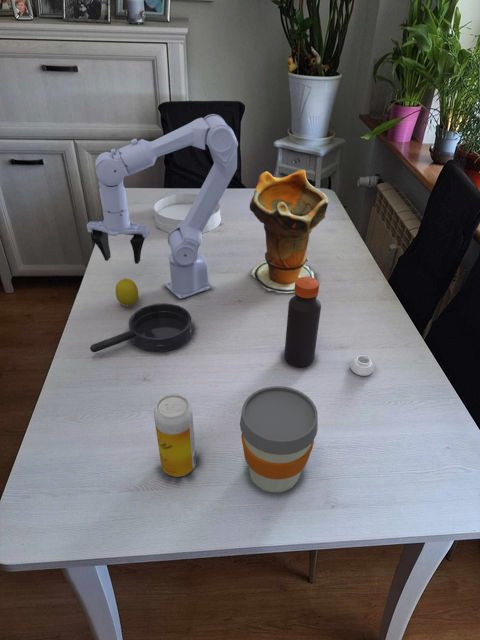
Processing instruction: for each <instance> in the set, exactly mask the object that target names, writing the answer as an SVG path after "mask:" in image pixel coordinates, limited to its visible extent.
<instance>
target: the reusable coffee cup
mask: <svg viewBox="0 0 480 640" xmlns="http://www.w3.org/2000/svg"><path fill="white" fill-rule="evenodd" d="M318 419H319V417H318V410H317V406H316V405H315V403H314V401H313V400H312V399H311V398H310V397H309V396H307V394H305V393H304V392H302V391H301V390H298V389H295V388H292V387H288V386H283V385H282V386H279V385H273V386H266V387H263V388H260V389H258V390H256V391H254V392H253V393H251V394H250V395H249V396H248V397H247V398H246V399H245V400H244V403H243V405H242V409H241V413H240V421H239V427H240V428H239V429H240V431H241V432H240V433H241V435H240V436H241V444H242V450H243V456H244V459H245V462H246V464H247V465H248V471H249V476H250V479H251V481H252V483H254V485H256V487H258V488H259V489H261V490H263V491H265V492H269V493H276V494H277V493H284V492H286V491H289V490H290V489H292V488H293V487H294V486H295V485H296V484H297V483H298V482H299V479H300V476H301V473H302V471H303V470H304V469H305V468H306V466H307V464H308V462H309V459H310V456H311V453H312V450H313V448H314V443H315V439H316V437H317V434H318V429H319V428H318V427H319V424H318V423H319V422H318Z"/></svg>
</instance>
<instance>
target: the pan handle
mask: <svg viewBox="0 0 480 640" xmlns="http://www.w3.org/2000/svg"><path fill="white" fill-rule="evenodd" d="M133 337H134V334H133V332H132V331H130V330H128V331H125V332H123V333H120V334H116V335H115V336H112V337H109V338H107V339H104V340H101V341H99V342H96V343H93V344H91V345H90V347H89V350H90V352H92V353H97V352H100V351H103V350H106V349H108V348H111V347H114V346H116V345H119V344H122V343H124V342H126V341H130V340H132V338H133Z"/></svg>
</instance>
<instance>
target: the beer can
mask: <svg viewBox="0 0 480 640" xmlns="http://www.w3.org/2000/svg"><path fill="white" fill-rule="evenodd" d="M193 413H194V412H193V407H192V405H191V403H190V402H189V400H188V398H186V397H185V396H183V395H180V394H177V393H176V394H175V393H173V394H168V395H164V396H162V397H160V399H159V400H157V402H156V404H155V407H154V409H153V419H154V426H155V433H156V439H157V446H158V451H159V459H160V465H161V466H160V467H161V469H162V471H163V472H164V473H165V474H166V475H168V476H171V477H175V478H180V477H184V476H187V475H188V474H190V473H191V472H192V471H193V470H194V469H195V467H196V465H197V456H196V455H197V454H196V441H195V430H194V429H195V428H194V427H195V426H194V414H193Z"/></svg>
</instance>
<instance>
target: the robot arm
mask: <svg viewBox="0 0 480 640" xmlns="http://www.w3.org/2000/svg"><path fill="white" fill-rule="evenodd" d="M130 142H131V143H130V144H127V145H125V146H122V147H120V148H118V149H116V148H112V149H110V152H109V151H104V152H101V153H100V154H98V156H97V157H96V159H95V163H94V168H95V174H96V175H95V176H96V177H97V179H98V183H97V184H98V187H99V189H98V193H99V198H100V204H101V210H102V214H103V220H102V221H89V222H88V223H86V229H87V233H91V236H90V237H91V241H93V243H94V244H95V245H96V246H97V248H98V249H99V251H100V252H101V253H100V254H102V256H103V260H104V261H107V262H109V260H110V259H111V249H110V243H109V236H111V237H117V236H118V235H125V236H132V237H131V239H130V240H129V243H130V245H131V248H132V253H133V260H134V261H133V262H134V265H135V264H136V265H138V264H139V263H140V261H141V255H142V250H143V245H144V242H145V239H147V238H148V237H149V236H150V228H149V226H143V225H139V224H136V223H133V222H130V214H129V207H128V200H127V192H126V188H125V185H124V179H125V177H129V176H131V175H134V174H136V173H139V172H141V171H143V170H145V169H148V168H150V167H153V166H154V165H155V163H156V160H157V158H159V157H162V156H165V155H168V154H171V153H173V152H175V151H179V150H181V149H184V148H187V147H191V146H192V147H195V148H197V149H200V150H204V151H205V150H206V145H207V147H208V148H209V152H210V155H211V158H212V161H213V164H212V166H211V168H210V169H209V172H208V174H207V176H206V178H205V180H204V182H203V184H202V186H201V187H200V189H199V191H198V193H197V197H196V199H195V201H194V202H193V204H192V206H191V208H190V210H189V212H188V214H187V216H186V218H185V220H183V221H181V222H180V223H179V224H178V226H177V227H176V228H175V229H174V230H173V231H171V232H170V233H168V236H167V243H168V246H169V248H170V251H171V252H170V255H169V257H168V262H169V273H170V281H171V282H170V283H166V284H165V287H166V289H168V290H169V291H170V292H171V293H172V294H173V295H174V296H176V297H177V298H178V299H179V300H183V299H185V298H189V297H191V296H194V295H197V294H199V293H202V292H205V291H207V290H210V289H211V287H210V286H209V268H208V263H207V260H206V259H205V256H203V254H201V253H199V252H198V251H199V248H200V246H201V244H202V237H203V236H202V235H203V233H202V232H203V230H204V228H205V226H206V224H207V222H208V221H209V219H210V217H211V215H212V213H213V212H214V210H215V208H216V206H217V204H218V203H220V201H221V199H222V197H223V195H224V193H225V192H226V190H227V188H228V186H229V184H230V183H231V181H232V179H233V177H234V175H235V173H236V171H237V169H238V146H239V142H238V140H237V137H236V135H235V132H234V130H233V129H232V128H231V126H229V125H228V124H227V123H226V120H225V119H224V118H223V117H222V116H221V115H219V114H215V113H212V114H207V115H206V116H204V117H199V118H196V119H194V120H193V121H191V122H189V123H187V124H185V125H182V126H181V127H179V128H177V129H175V130H173V131H171V132H168V133H166V134H165V135H162V136H160V137H158V138H156V139H154V140H152V141H148V140H146V139H143V138H142V139H139V140H138V139H137V138H133V139H131V140H130Z"/></svg>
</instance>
